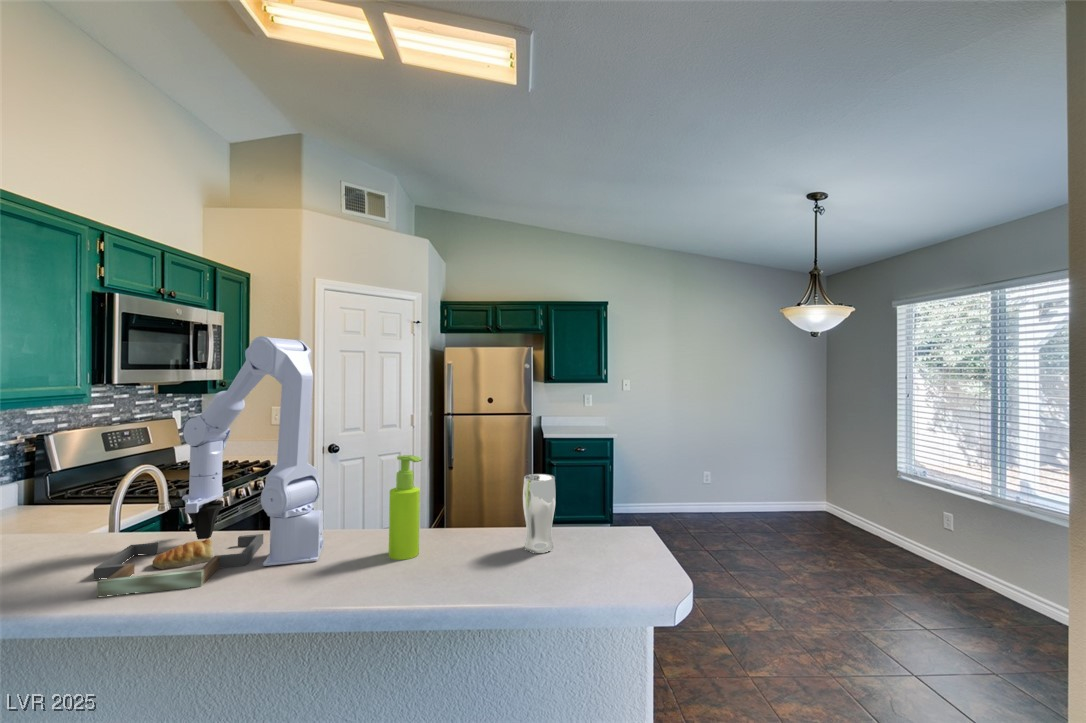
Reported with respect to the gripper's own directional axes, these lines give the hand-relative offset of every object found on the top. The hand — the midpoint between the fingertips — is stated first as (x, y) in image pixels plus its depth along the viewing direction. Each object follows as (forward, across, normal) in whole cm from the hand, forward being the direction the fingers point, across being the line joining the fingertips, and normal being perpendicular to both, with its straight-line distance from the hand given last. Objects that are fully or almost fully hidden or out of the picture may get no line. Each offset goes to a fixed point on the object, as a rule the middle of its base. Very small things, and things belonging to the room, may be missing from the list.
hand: (204, 538), depth 100 cm
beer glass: (+2, +22, +68) cm, 71 cm away
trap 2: (+1, +9, +9) cm, 13 cm away
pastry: (+2, +9, 0) cm, 10 cm away
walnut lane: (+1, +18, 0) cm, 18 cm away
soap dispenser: (+2, +18, +41) cm, 45 cm away
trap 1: (+1, +9, -10) cm, 13 cm away
